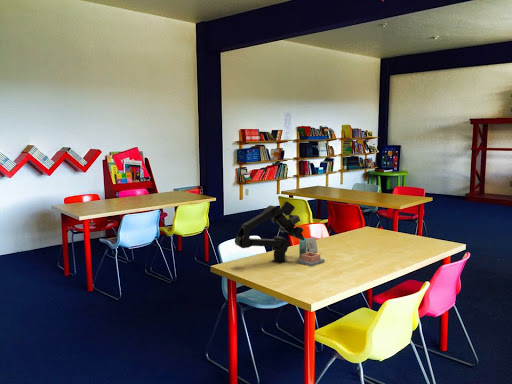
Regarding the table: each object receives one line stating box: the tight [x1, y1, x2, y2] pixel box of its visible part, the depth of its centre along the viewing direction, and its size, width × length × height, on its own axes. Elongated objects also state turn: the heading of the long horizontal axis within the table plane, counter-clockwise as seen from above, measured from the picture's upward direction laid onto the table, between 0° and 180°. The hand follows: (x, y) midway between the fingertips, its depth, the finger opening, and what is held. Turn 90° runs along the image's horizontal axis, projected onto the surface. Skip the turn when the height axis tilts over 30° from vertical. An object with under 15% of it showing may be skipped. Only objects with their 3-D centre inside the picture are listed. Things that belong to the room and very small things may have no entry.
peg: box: [298, 236, 307, 259], centre depth 262 cm, size 4×4×12 cm
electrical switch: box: [305, 237, 318, 253], centre depth 274 cm, size 9×5×9 cm, turn 116°
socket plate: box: [295, 252, 325, 267], centre depth 253 cm, size 12×11×4 cm
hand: (299, 238), depth 260 cm, fingers open, 9 cm apart
